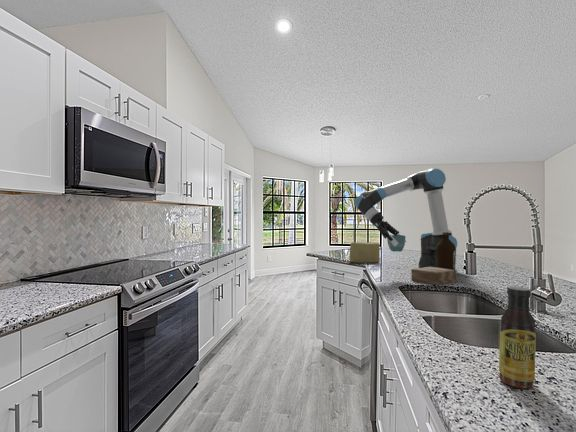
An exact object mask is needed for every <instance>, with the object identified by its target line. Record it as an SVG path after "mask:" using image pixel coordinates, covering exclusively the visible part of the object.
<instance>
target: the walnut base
mask: <svg viewBox="0 0 576 432" xmlns="http://www.w3.org/2000/svg"><path fill="white" fill-rule="evenodd" d="M410 275H411V281H413V282H414V281H415V282H419V283H425V284H430V285H437V286H440V285H445V284H450V283H451V284H452V283H456V282H457V281H458V276H457V275H458V271H457V269H455V270H452V269H445V268H437V267H424V268H420V267H418V268H412V269H411V274H410Z"/></svg>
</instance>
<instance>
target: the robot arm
mask: <svg viewBox="0 0 576 432" xmlns="http://www.w3.org/2000/svg"><path fill="white" fill-rule="evenodd" d="M446 180H447V177H446V174H445V172H444V171H443V170H441V169H440V168H428V169H426V170H420V171H418V172H416V173H413V174H411V175H409V176H406V177H405V178H404V179H401V180H399V181H396V182H393V183H390V184H386V185H384V186H379V187H377V188H374V189H371V190H368V191H364V192H361V193H360V194H359V196H357V197H356V198H355V199H354V200H353V206H355V208H356V209H357V210H358V211H360V213H361V214H362V215H363V216H364V217H365V218H366V219H365V220H368V221H369V222H370V223H371V225H373V226H374V227H375V228H376V229H377V230H378V231H379V233H380V234H381V236H382V237H383V238H384V239H388V240H389V241H390V242H391V243H392V244H393V245H394V246H396V245H397V244H398V242H397V241H396V240H395V239H394V238H393V237H392V236H391V235H401V234H400V231H399V230H398V229H396V228H395V227H394V226H392V225H391V224H390V223H389V222H388V221H385V220H384V216H383V215H382V213H380V212H379V211H378V210H377V208H375V207H374V206H376V205H377V204H378V203H380V202H381V201H383V200H384V199H387V198H388V197H389V198H390V197H393V196H395V195H398V194H401V193H405V192H407V191H410V192H413V191H415V190H423V193H424V194H426V197H427V202H428V207H429V212H430V219H431V223H432V229H433V231H432V232H425V233H421V235H420V257H419V262H418V264H417V265H418V266H417V267H418V268H424V267H437V257H436V246H437V244H438V243H439V242H440V241H441V240H442V239H443V232H448V233H449V240H450V241H451V242H452V243H453V244H454V245H455V247H456V249H457V248H458V240H457V238H456V237H455V236H453V234H452V230H450V229H449V225H448V220H447V215H446V209H445V204H444V198H443V193H442V192H443V190H444V185H445V183H446ZM390 233H391V234H390ZM406 242H407V240H406V239H405V243H406Z"/></svg>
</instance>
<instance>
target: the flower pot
mask: <svg viewBox="0 0 576 432" xmlns="http://www.w3.org/2000/svg"><path fill="white" fill-rule="evenodd" d="M391 236H392V237H393V238H394V239H395V240H396V241H397V242H398V244H397V245H396V246H394V245H393V244H392V243H391V242H390V241H389V240H388V239H387V238H386V239H387V245H388V249H389V250H390V251H391V252H393V253H394V252H399V253H400V252H402V251H403V250H404V248H405V245H406V242H405V240H406V235H403V234H400V235H393V234H391Z"/></svg>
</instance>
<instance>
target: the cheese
mask: <svg viewBox="0 0 576 432" xmlns="http://www.w3.org/2000/svg"><path fill="white" fill-rule="evenodd" d="M380 245H381V244H380V243H379V242H351V243H350V246H349V247H350V248H349V262H350V263H368V262H381V259H380V258H381V257H380V256H381V255H380V253H381V252H380V251H381V249H380Z"/></svg>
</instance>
